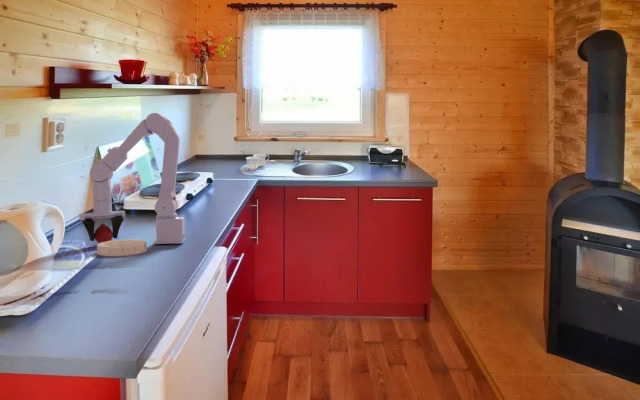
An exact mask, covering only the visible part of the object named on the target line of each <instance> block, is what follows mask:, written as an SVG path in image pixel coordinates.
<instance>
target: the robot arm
mask: <svg viewBox="0 0 640 400" xmlns="http://www.w3.org/2000/svg"><path fill="white" fill-rule="evenodd" d="M154 134H155V135H157V136H158V138H159V139H160V140H161V141H163V143H164V145H163V146H164V147H163V159H162V169H161V171H162V172H161V179H160V180H161V181H160V190H159V193H158V199H157V201H156V202H155V204H154V211H155V213H156V214H157V215H155V233H156V236H155V237H156V238H155V239H156V240H155V241H154V242H153V244H155V245H160V244H161V245H162V244H163V245H164V244H165V245H166V244H170V245H171V244H183V243H184V241H185V240H186V233H185V232H186V231H185V230H186V229H185V227H186V225H185V217H183V216H178V213H177V210H178V207H179V206H178V200H177V194H176V185H177V184H176V183H177V174H178V164H179V162H178V161H179V154H180V153H179V151H180V139H181V138H180V136H179V134H178V133H177V131H176V128H174V125H173V123H172V122H171V121H170V120H169V119H168V117H166V116H165V115H162V114H160V113H158V112H152V113H150V114H148V115H147V116H146V117H145V118H144V119H143V120H141V122H140V123H139V124H138V125H137V126H136V127H135V128H134V130H132V132H131V133H130V134H129V135H128V136H127V137H126V139H124V141H122V143H121V144H120V145H119V146H113V147H112V148H108V149H107V153H106V154H105V155H104V156H103V157H102V159H99V160H97V163H96V164H93V165H92V167H91V168H90V170H89V176H90V178H91V179H92V204H93V205H92V206H93V212H87V213H79V220H80V221H81V223H82V224H83V227H84V228H85V229H86V232H87V235H88V238H89V241H90V242H94V241H95V238H94V233H95V225H96V224H95V223H96V222H95V220H97V219H109V218H110V222H111V227H112V229H111V231H112V233H113V237H112V239H118V235H119V231H120V228H121V226H122V224H123V222H124V217H126V211H125V210H114V211H113V208H112V207H113V206H112V205H113V204H112V202H113V201H112V186H111V184H112V182H111V179H112V178H113V175H114V173H115V172H116V171H117V170H118V169H119V168H120V167H121V166H122V165H123V164H124V163H125V162H126V160H128V153H129V152H130V151H131V150H132V149H133V148H134V147H135V146H136V145H137V144H139V142H140V141H141V140H142V139H144V137H148V136H152V135H154Z"/></svg>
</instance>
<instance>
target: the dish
mask: <svg viewBox="0 0 640 400" xmlns="http://www.w3.org/2000/svg"><path fill="white" fill-rule="evenodd" d="M146 252H148V247H147V241H146V240H142V239H115V240H111V241H106V242H101V243H98V244H97V245H96V255H97V254H98V255H97V256H101V257H109V258H110V257H112V258H113V257H114V258H115V257H127V256H128V257H131V256H135V255H141V254H144V253H146Z"/></svg>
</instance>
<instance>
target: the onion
mask: <svg viewBox="0 0 640 400" xmlns="http://www.w3.org/2000/svg"><path fill="white" fill-rule="evenodd" d="M112 239H113V233H112V229H111V228H110V227H109V225H108V226H107V225H106V224H105V223H104V222H100V225H99V226H98V227H97V228H96V229H94V241H96V242H97V243H98V244H99V243H101V242H106V241H113V240H112Z"/></svg>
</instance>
